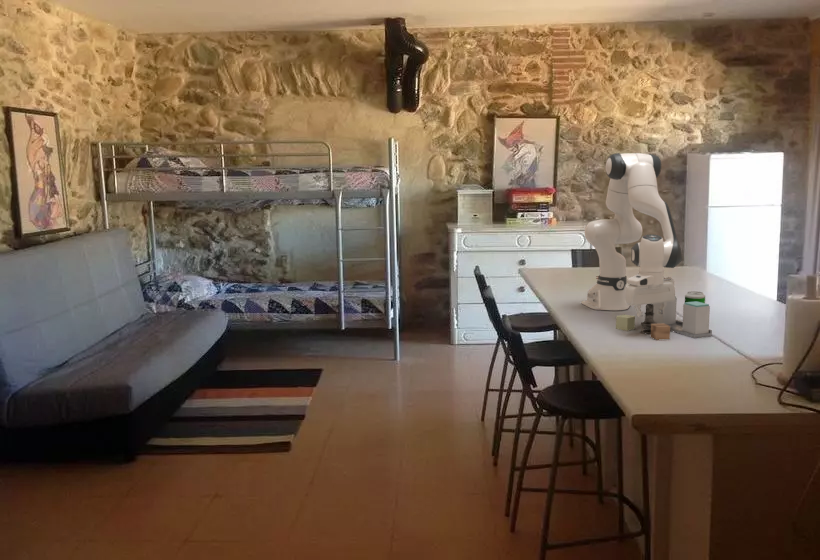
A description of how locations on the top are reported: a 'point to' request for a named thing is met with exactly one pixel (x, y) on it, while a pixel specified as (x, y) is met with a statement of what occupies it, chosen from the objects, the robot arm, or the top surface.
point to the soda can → (695, 297)
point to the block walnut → (660, 331)
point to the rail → (678, 328)
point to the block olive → (625, 322)
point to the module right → (696, 317)
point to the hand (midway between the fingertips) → (650, 315)
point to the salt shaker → (648, 319)
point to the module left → (665, 313)
